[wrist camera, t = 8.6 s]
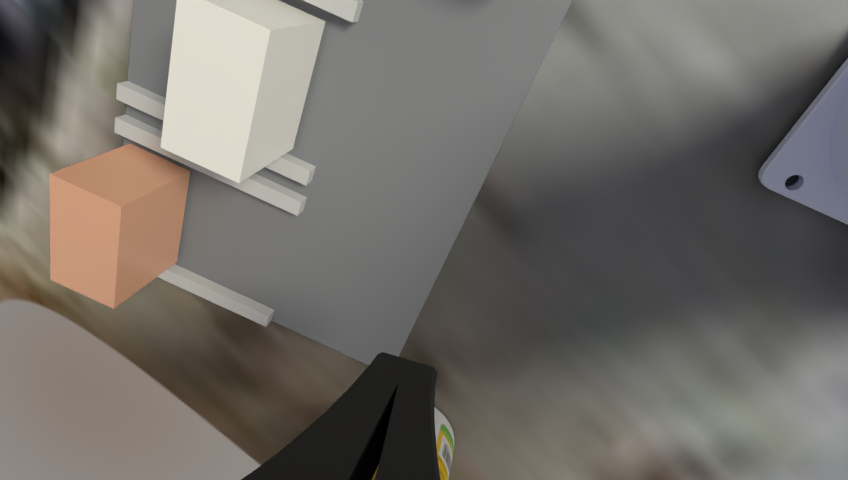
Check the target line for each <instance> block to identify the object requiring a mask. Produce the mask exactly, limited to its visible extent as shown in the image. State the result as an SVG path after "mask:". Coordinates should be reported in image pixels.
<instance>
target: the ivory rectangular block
mask: <svg viewBox="0 0 848 480" xmlns="http://www.w3.org/2000/svg"><path fill="white" fill-rule="evenodd" d="M325 22H326V21H323V20H321V19H319V18H317V17H315V16H312V15H310V14H308V13H306V12H303V11H301V10H299V9H297V8H295V7H292V6H290V5H288V4H286V3H284V2H281V1H279V0H177V3H176V12H175V21H174V30H173V39H172V48H171V57H170V66H169V75H168V84H167V93H166V102H165V111H164V120H163V129H162V138H161V148H163V149H165V150H167V151H169V152H171V153H174V154H176V155H178V156H180V157H182V158H185V159H187V160H189V161H191V162H193V163H196V164H198V165H200V166H202V167H204V168H207V169H209V170H211V171H213V172H215V173H217V174H220V175H222V176H224V177H226V178H228V179H231V180H233V181H235V182H237V183H240V182H242V181H243V180H245V179H247V178H248V177H250V176H251V175H253V174H254V173H256V172H258V171H259V170H261V169H262V168H264V167H265V166H267V165H268V164H270V163H272V162H273V161H275V160H276V159H278V158H279V157H281V156H283V155H284V154H286V153H287V152H289V151H290V150H292V149H293V146H294V142H295V138H296V134H297V130H298V127H299V123H300V119H301V115H302V111H303V107H304V103H305V99H306V96H307V92H308V88H309V84H310V80H311V76H312V72H313V68H314V65H315V61H316V57H317V53H318V49H319V45H320V41H321V37H322V33H323V30H324V26H325Z"/></svg>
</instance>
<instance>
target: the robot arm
mask: <svg viewBox="0 0 848 480" xmlns="http://www.w3.org/2000/svg"><path fill="white" fill-rule="evenodd" d="M793 175H798V177H799V178H798V180H797V182H796V183H795V184H793V185H791V186H785V182H786V180H787V179H788V178H789V177H790V176H793ZM758 178H759V180H760V182H761V183H762V184H763V185H764V186H765V187H767V188H768V189H770V190H772V191H774V192H776V193H779V194H781V195H783V196H785V197H788V198H790V199H792V200H794V201H796V202H799V203H801V204H803V205H805V206H807V207H810V208H812V209H814V210H816V211H819V212H821V213H823V214H825V215H827V216H830V217H832V218H834V219H836V220H839V221H841V222H843V223H845V224H847V225H848V58H847V59H846V60H845V62H844V63H843V64H842V66H841V67H840V68H839V69H838V71H837V72H836V73H835V74H834V76H833V77H832V78H831V79H830V81H829V82H828V83H827V84H826V86H825V87H824V88H823V90H822V91H821V92H820V93H819V95H818V96H817V97H816V98H815V100H814V101H813V102H812V103H811V105H810V106H809V107H808V108H807V110H806V111H805V112H804V113H803V115H802V116H801V117H800V119H799V120H798V121H797V122H796V124H795V125H794V126H793V127H792V129H791V130H790V131H789V132H788V134H787V135H786V136H785V137H784V139H783V140H782V141H781V143H780V144H779V145H778V146H777V148H776V149H775V150H774V151H773V153H772V154H771V155H770V156H769V158H768V159H767V160H766V161H765V163H764V164H763V165H762V167H761V168H760V170H759V174H758ZM436 377H437V372H436V370H435V369H434V368H433V367H430V366H427V365H423V364H420V363H417V362H414V361H410V360H407V359H404V358H401V357H397V356H394V355H391V354H388V353H385V352H382V353H379V354H377V355H376V357H375V358H374V360H373V361H372V362H371V364H370V365H369V366H368V367H367V369H366V370H365V371H364V372H363V373H362V375H361V376H360V377H359V378H358V379H357V380H356V381H355V382H354V384H353V385H352V386H351V387H350V388H349V389H348V390H347V391H346V392H345V393H344V394H343V395H342V396H341V397H340V398H339V399H338V400H337V401H336V402H335V403H334V404H333V405H332V406H331V407H330V408H329V409H328V410H327V411H326V412H325V413H324V414H323V415H322V416H321V417H319V418H318V419H317V420H316V421H315V422H314V423H313V424H312V425H310V426H309V427H308V428H307V429H306V430H305V431H304V432H302V433H301V434H300V435H299V436H298V437H297V438H296V439H294V440H293V441H292V442H291V443H290V444H288V445H287V446H286V447H285V448H283V449H282V450H281V451H280V452H278V453H277V454H276V455H275V456H273V457H272V458H271V459H269V460H268V461H267V462H265V463H264V464H263V465H261V466H260V467H259V468H258V469H256V470H254V471H253V472H252V473H250V474H249V475H247V476H246V477H244V478H243V479H242V480H372V479H373V476H374V474H375V472H376V469H377V467H378V469H377V472H376V475H375V478H374V480H441V479H440V473H439V465H438V457H437V446H436V435H435V418H434V396H435V384H436Z"/></svg>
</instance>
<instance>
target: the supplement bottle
mask: <svg viewBox="0 0 848 480" xmlns="http://www.w3.org/2000/svg"><path fill="white" fill-rule="evenodd" d="M434 418H435V435H436V446H437V457H438V465H439V473H440V479H441V480H448V479H449V474H450V469H451V464H452V459H453V452H454V434H453V430H452V428H451V425H450V423H449V422H448V420H447V419H446V417H445V416H444V415H443V414H442V413H441V412H440V411H439V410H438V409H437V408H435V407H434ZM377 469H378V467H377ZM377 469H376V472H377ZM376 472H375V474H374V476H373V479H372V480H374V478H375V475H376Z"/></svg>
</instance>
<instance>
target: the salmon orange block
mask: <svg viewBox="0 0 848 480" xmlns="http://www.w3.org/2000/svg"><path fill="white" fill-rule="evenodd" d="M189 177H190V171H189V170H187V169H185V168H183V167H181V166H178V165H176V164H174V163H172V162H170V161H167V160H165V159H163V158H161V157H159V156H156V155H154V154H152V153H150V152H148V151H145V150H143V149H141V148H139V147H137V146H135V145H132V144H128V145H125V146H122V147H120V148H117V149H114V150H112V151H109V152H106V153H104V154H101V155H98V156H96V157H93V158H90V159H88V160H85V161H82V162H80V163H77V164H74V165H72V166H69V167H66V168H64V169H61V170H58V171H56V172H53V173H50V174H49V178H50V263H51V280H52V281H54V282H56V283H59V284H61V285H63V286H65V287H67V288H69V289H72V290H74V291H76V292H78V293H80V294H82V295H85V296H87V297H89V298H91V299H93V300H96V301H98V302H100V303H102V304H104V305H106V306H109V307H111V308H113V309H115V308H116V307H117V306H119V305H120V304H121V303H123V302H124V301H125V300H127V299H128V298H129V297H131V296H132V295H133V294H135V293H136V292H137V291H139V290H140V289H141V288H143V287H144V286H145V285H147V284H148V283H149V282H151V281H152V280H153V279H155V278H156V277H157V276H159V275H160V274H161V273H163V272H164V271H165V270H167V269H168V268H169V267H171V266H172V265H174V264H175V263H176V262H177V258H178V252H179V245H180V238H181V231H182V225H183V218H184V211H185V204H186V198H187V191H188V184H189Z"/></svg>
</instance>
